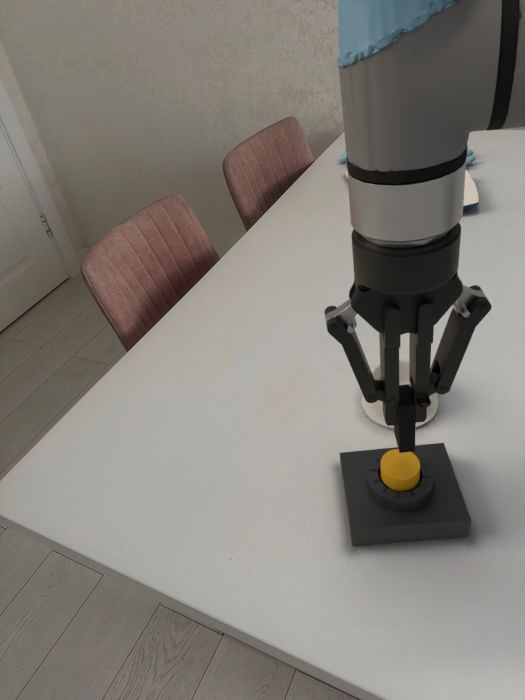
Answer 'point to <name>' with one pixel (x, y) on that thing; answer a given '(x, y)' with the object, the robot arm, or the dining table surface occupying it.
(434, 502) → the yellow button cap base
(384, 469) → the yellow button cap
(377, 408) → the teacup
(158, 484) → the dining table surface
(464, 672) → the dining table surface
